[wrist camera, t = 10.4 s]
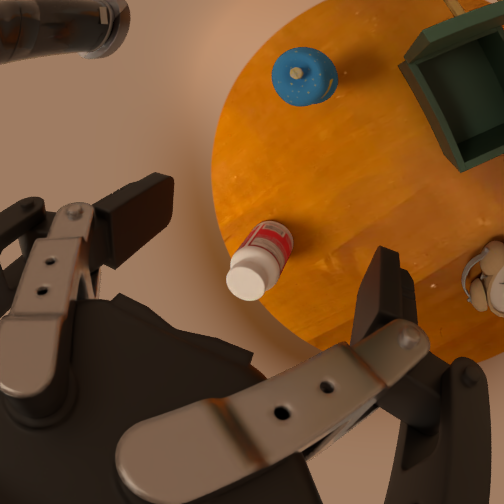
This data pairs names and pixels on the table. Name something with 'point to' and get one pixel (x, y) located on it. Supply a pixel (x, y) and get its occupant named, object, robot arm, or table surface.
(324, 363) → the robot arm
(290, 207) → the table surface
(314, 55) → the ornament
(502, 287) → the alarm clock
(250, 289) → the pill bottle
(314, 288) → the table surface
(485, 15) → the lid
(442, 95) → the chest
